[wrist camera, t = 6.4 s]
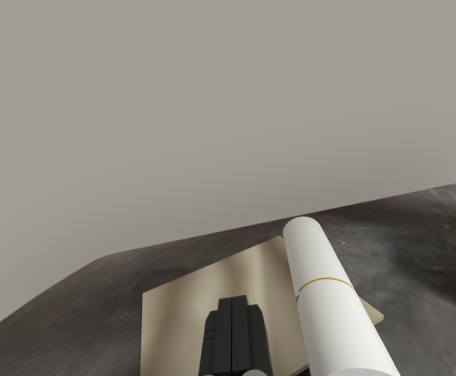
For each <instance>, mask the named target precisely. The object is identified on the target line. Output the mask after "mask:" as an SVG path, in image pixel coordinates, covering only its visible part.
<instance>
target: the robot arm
mask: <svg viewBox="0 0 456 376" xmlns="http://www.w3.org/2000/svg"><path fill="white" fill-rule="evenodd" d="M198 376H274V375H273V369H272V363H271V356H270V350H269V343H268V337H267V331H266V326H265V322H264V317H263V313H262V311H261V309H260V308H259V306H258V305H257V304H254V305H249V303H248V299H247V296H246V295H240V296H233V297H227V298H220V299H219V301H218V310H214V311H210V313H209V315H208V317H207V319H206V321H205V328H204V336H203V343H202V350H201V358H200V365H199V372H198Z"/></svg>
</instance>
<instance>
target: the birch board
mask: <svg viewBox="0 0 456 376" xmlns="http://www.w3.org/2000/svg"><path fill="white" fill-rule="evenodd" d="M240 295H246V296H247V299H248V303H249V305H254V304H257V305H258V306H259V308H260V309H261V311H262V313H263V317H264V322H265V326H266V331H267V337H268V343H269V350H270V356H271V363H272V369H273V375H274V376H296V375H298V374H299V373H301V372H303V371H304V370H306V369H307V368H309V364H308V359H307V353H306V348H305V343H304V338H303V333H302V328H301V323H300V318H299V313H298V308H297V302H296V298H295V293H294V287H293V282H292V277H291V272H290V267H289V262H288V257H287V252H286V247H285V242H284V239H283V238H282V237H281V236H277V237H275V238H273V239H270V240H268V241H265V242H263V243H261V244H258V245H256V246H254V247H251V248H249V249H247V250H244V251H242V252H239V253H237V254H235V255H232V256H230V257H228V258H225V259H223V260H221V261H218V262H216V263H213V264H211V265H209V266H206V267H204V268H202V269H199V270H197V271H195V272H192V273H190V274H187V275H185V276H183V277H180V278H178V279H176V280H173V281H171V282H168V283H166V284H164V285H161V286H159V287H157V288H154V289H152V290H150V291H147V292H145V293H143V303H142V335H141V367H140V376H198V372H199V365H200V358H201V350H202V343H203V336H204V328H205V321H206V319H207V317H208V315H209V313H210V311H214V310H218V301H219V299H220V298H227V297H233V296H240ZM358 297H359V296H358ZM359 299H360V301H361V303H362V305H363V307H364V309H365V310H366V312H367V314H368V316H369V318H370V320H371V322H372V324H373V325H376V324H377V323H379V322H380V321H382V320H384V315H382V314H381V313H380V312H378V311H377V310H376V309H374V308H373V307H372V306H371V305H369V304H368V303H367V302H365V301H364V300H363V299H361V298H360V297H359Z"/></svg>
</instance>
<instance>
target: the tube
mask: <svg viewBox="0 0 456 376" xmlns="http://www.w3.org/2000/svg"><path fill="white" fill-rule="evenodd" d="M283 237H284V242H285V247H286V252H287V257H288V262H289V267H290V272H291V277H292V282H293V287H294V293H295V298H296V302H297V308H298V313H299V318H300V323H301V328H302V333H303V338H304V343H305V348H306V353H307V359H308V364H309V369H310V374H311V376H400V374H399V372H398V371H397V369H396V367H395V365H394V363H393V361H392V359H391V357H390V356H389V354H388V352H387V350H386V348H385V346H384V344H383V342H382V340H381V339H380V337H379V335H378V333H377V331H376V329H375V327H374V325H373V324H372V322H371V320H370V318H369V316H368V314H367V312H366V310H365V309H364V307H363V305H362V303H361V301H360V299H359V297H358V295H357V293H356V292H355V290H354V288H353V286H352V284H351V282H350V280H349V278H348V277H347V275H346V273H345V271H344V269H343V267H342V265H341V263H340V262H339V260H338V258H337V256H336V254H335V252H334V250H333V248H332V247H331V245H330V243H329V241H328V239H327V237H326V235H325V233H324V232H323V230H322V228H321V226H320V224H319V223H318V222H317V221H316V220H314V219H312V218H309V217H297V218H294V219H292V220H291V221H289V222H288V223H287V224H286V226H285V228H284V230H283Z"/></svg>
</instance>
